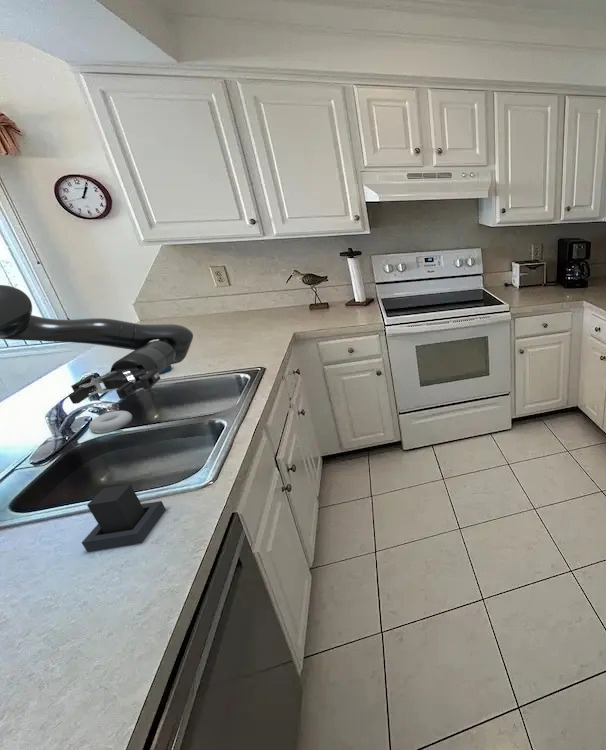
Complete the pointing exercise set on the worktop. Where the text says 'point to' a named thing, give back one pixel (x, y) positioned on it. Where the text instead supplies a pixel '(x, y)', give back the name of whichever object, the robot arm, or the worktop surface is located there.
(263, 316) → the worktop surface
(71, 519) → the worktop surface
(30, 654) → the worktop surface
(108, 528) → the dark matte cube
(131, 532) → the dark square frame
